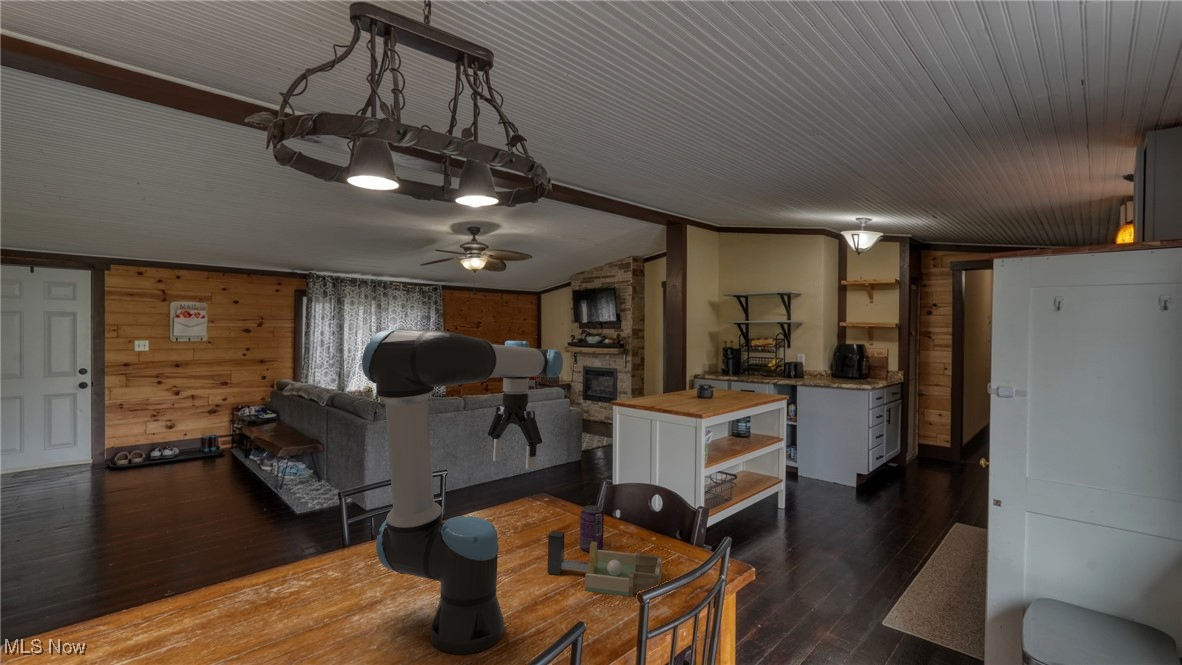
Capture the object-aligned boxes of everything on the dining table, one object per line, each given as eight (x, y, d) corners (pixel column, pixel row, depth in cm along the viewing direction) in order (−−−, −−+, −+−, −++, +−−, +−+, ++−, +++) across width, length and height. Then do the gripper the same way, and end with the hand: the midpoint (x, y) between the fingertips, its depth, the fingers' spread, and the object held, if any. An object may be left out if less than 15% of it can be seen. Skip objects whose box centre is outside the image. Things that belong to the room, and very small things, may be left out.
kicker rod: (593, 581, 138) (594, 542, 138) (546, 575, 141) (547, 537, 141) (597, 571, 144) (598, 534, 144) (552, 565, 146) (553, 529, 146)
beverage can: (603, 544, 163) (604, 505, 163) (602, 554, 156) (603, 513, 156) (580, 543, 163) (581, 504, 163) (578, 552, 156) (579, 511, 156)
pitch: (628, 596, 131) (629, 580, 131) (585, 590, 133) (585, 574, 133) (636, 568, 147) (637, 554, 147) (597, 564, 149) (598, 549, 149)
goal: (657, 600, 129) (657, 579, 129) (628, 596, 131) (629, 576, 131) (662, 571, 145) (662, 553, 145) (636, 568, 147) (637, 550, 147)
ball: (620, 579, 137) (620, 564, 137) (605, 578, 138) (605, 562, 138) (622, 573, 141) (623, 558, 141) (608, 571, 142) (608, 556, 142)
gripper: (555, 395, 154) (553, 468, 153) (495, 388, 169) (493, 455, 168) (538, 397, 148) (535, 473, 147) (477, 389, 163) (475, 459, 162)
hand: (513, 464), depth 158 cm, fingers open, 13 cm apart
